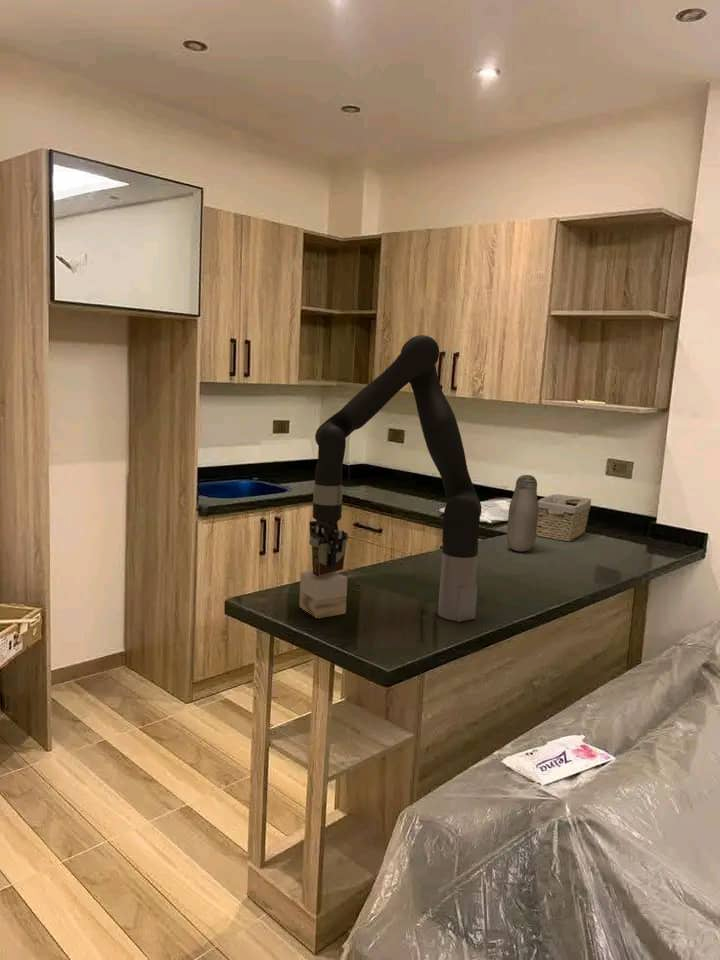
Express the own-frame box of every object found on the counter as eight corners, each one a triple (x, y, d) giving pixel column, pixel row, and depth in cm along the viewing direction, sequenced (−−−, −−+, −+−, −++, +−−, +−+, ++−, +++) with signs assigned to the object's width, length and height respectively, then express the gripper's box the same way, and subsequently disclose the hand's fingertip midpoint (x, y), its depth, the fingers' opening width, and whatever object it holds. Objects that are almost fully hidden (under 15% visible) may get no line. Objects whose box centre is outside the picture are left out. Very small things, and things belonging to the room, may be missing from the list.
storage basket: (551, 526, 311) (554, 492, 309) (589, 533, 303) (593, 498, 300) (531, 536, 291) (535, 500, 289) (572, 544, 283) (576, 506, 280)
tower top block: (346, 595, 193) (347, 577, 192) (317, 600, 188) (317, 582, 187) (328, 586, 201) (329, 568, 200) (299, 590, 196) (300, 572, 195)
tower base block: (345, 614, 194) (346, 596, 193) (316, 619, 189) (317, 600, 188) (328, 603, 201) (328, 586, 200) (299, 608, 196) (299, 590, 195)
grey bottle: (523, 555, 261) (530, 478, 256) (500, 549, 268) (506, 474, 264) (539, 552, 267) (547, 476, 263) (517, 545, 275) (523, 472, 270)
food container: (329, 563, 200) (331, 527, 199) (346, 568, 196) (348, 532, 195) (297, 572, 191) (299, 534, 189) (315, 577, 187) (316, 539, 185)
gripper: (355, 505, 186) (352, 569, 189) (325, 495, 198) (322, 555, 201) (330, 507, 182) (327, 573, 185) (301, 497, 194) (299, 558, 197)
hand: (325, 563), depth 193 cm, fingers closed on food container, 5 cm apart
